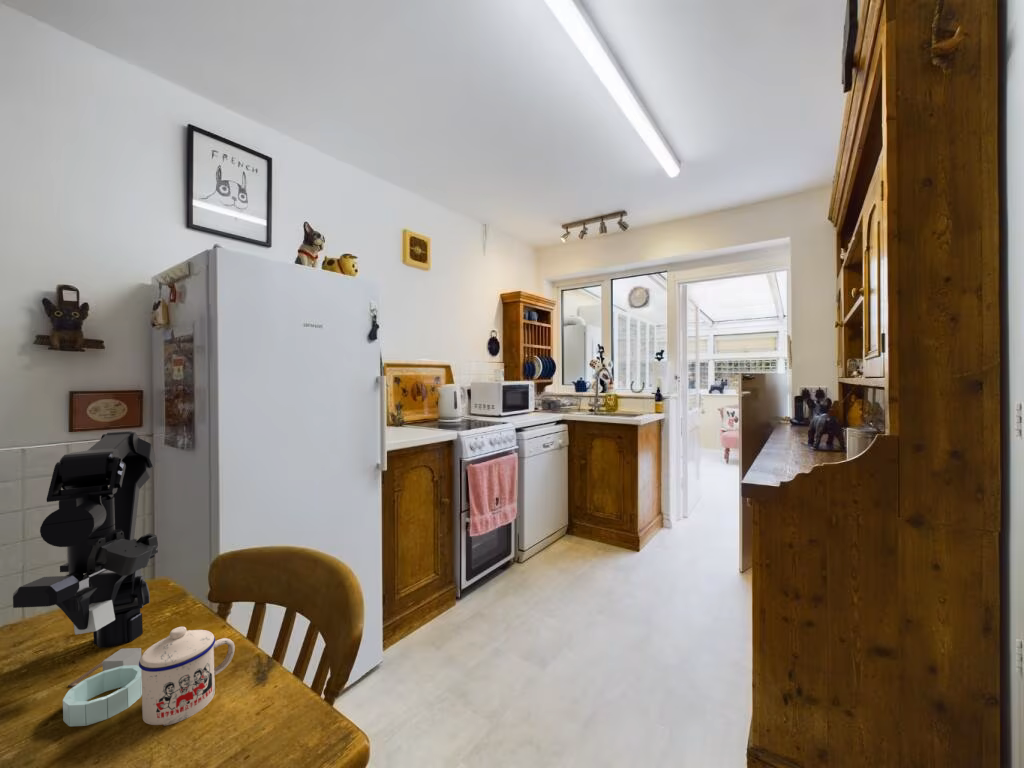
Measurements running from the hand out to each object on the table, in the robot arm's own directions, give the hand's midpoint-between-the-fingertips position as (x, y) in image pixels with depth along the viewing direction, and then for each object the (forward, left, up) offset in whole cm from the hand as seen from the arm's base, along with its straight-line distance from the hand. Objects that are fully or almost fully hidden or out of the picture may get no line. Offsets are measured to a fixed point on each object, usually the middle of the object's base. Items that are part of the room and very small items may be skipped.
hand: (94, 622), depth 71 cm
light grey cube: (0, 0, -1) cm, 1 cm away
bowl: (+7, -6, -10) cm, 14 cm away
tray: (+2, +2, -10) cm, 10 cm away
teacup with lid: (+19, -5, -10) cm, 23 cm away
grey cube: (+4, +1, -9) cm, 10 cm away
